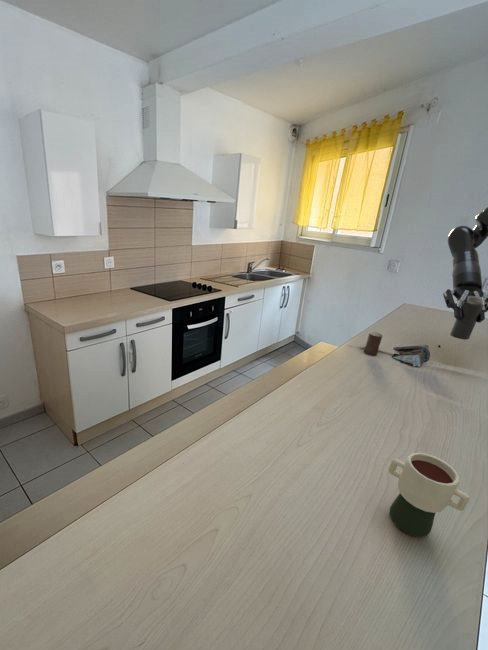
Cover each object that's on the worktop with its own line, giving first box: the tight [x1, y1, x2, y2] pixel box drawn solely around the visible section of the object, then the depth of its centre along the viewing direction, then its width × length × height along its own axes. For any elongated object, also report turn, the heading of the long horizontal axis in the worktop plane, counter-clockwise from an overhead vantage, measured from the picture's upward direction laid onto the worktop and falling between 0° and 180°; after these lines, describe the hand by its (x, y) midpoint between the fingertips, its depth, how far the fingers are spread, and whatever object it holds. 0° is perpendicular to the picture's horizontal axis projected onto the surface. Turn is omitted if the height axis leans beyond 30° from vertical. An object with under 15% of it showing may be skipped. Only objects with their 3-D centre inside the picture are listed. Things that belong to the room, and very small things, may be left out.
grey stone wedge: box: [391, 344, 431, 368], centre depth 118 cm, size 10×7×12 cm
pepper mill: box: [449, 296, 484, 341], centre depth 108 cm, size 5×5×14 cm
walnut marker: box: [363, 331, 383, 357], centre depth 123 cm, size 4×4×8 cm
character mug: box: [387, 452, 470, 538], centre depth 55 cm, size 11×7×13 cm, turn 44°
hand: (469, 320), depth 106 cm, fingers closed on pepper mill, 5 cm apart
